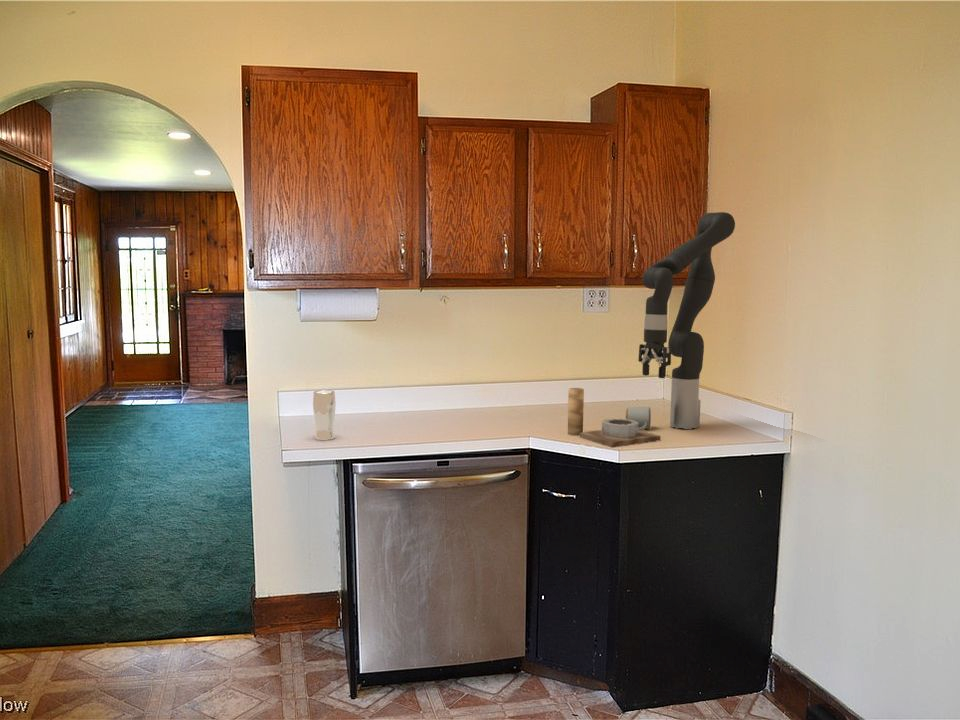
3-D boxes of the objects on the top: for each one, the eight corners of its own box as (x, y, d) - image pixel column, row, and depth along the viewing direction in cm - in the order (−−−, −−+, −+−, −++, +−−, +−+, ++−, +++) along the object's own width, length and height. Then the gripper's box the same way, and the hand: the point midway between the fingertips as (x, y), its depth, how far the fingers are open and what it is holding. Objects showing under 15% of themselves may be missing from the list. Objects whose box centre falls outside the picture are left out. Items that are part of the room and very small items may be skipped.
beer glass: (315, 436, 256) (314, 390, 254) (337, 435, 256) (336, 390, 254) (312, 440, 249) (311, 393, 247) (334, 440, 249) (334, 393, 248)
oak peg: (576, 431, 265) (577, 387, 264) (585, 434, 261) (587, 389, 259) (564, 433, 263) (565, 388, 261) (573, 436, 259) (574, 390, 257)
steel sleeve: (621, 429, 262) (622, 417, 262) (644, 435, 253) (645, 423, 252) (595, 432, 257) (595, 420, 256) (617, 439, 247) (618, 426, 247)
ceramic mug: (626, 425, 277) (627, 403, 275) (650, 426, 274) (651, 405, 273) (624, 432, 266) (624, 409, 265) (649, 433, 264) (649, 410, 263)
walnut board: (627, 431, 267) (627, 426, 267) (660, 440, 253) (660, 435, 253) (579, 437, 257) (579, 432, 257) (611, 447, 243) (611, 442, 243)
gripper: (678, 329, 258) (676, 378, 259) (651, 326, 270) (649, 374, 272) (660, 329, 254) (657, 379, 256) (633, 327, 267) (631, 374, 269)
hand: (653, 376), depth 264 cm, fingers open, 8 cm apart
